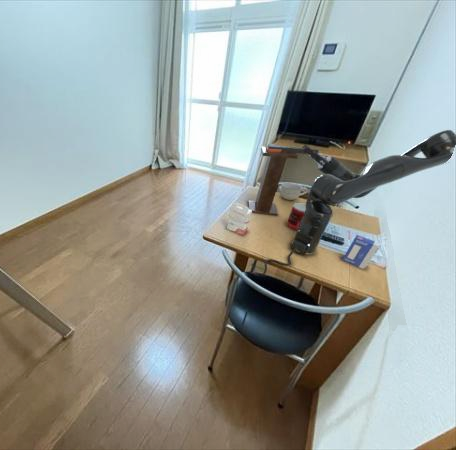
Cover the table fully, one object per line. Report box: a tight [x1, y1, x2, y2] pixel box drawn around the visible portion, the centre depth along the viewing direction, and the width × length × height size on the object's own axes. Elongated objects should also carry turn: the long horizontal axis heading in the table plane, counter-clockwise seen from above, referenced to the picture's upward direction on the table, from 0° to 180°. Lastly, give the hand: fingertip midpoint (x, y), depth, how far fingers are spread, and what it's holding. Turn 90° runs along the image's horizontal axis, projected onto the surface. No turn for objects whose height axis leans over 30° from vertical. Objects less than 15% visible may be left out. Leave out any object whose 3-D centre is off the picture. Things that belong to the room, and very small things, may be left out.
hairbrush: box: [265, 143, 320, 155], centre depth 116 cm, size 22×5×2 cm, turn 76°
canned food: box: [286, 202, 306, 231], centre depth 119 cm, size 8×8×11 cm
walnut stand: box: [247, 146, 299, 217], centre depth 127 cm, size 15×12×32 cm
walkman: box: [341, 234, 382, 270], centre depth 97 cm, size 8×3×12 cm, turn 45°
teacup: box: [279, 181, 308, 201], centre depth 144 cm, size 14×11×8 cm
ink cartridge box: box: [226, 201, 252, 236], centre depth 115 cm, size 9×5×15 cm, turn 47°
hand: (304, 147), depth 115 cm, fingers closed on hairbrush, 2 cm apart
